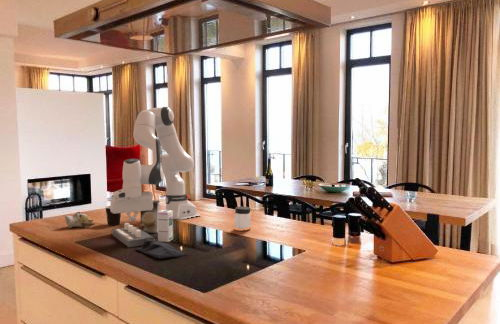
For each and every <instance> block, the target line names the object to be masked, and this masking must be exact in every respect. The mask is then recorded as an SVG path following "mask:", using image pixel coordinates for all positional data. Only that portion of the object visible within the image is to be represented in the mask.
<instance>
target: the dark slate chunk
mask: <svg viewBox="0 0 500 324" xmlns="http://www.w3.org/2000/svg"><path fill="white" fill-rule="evenodd" d="M135 250H136V251H137V252H140V253H142V254H145V255H148V256H151V257H153V258H155V259H160V260H162V259H168V258H179V257H184V256H186V254H185V253H184V252H182V251H179V250H178V249H177V248H175V246H173V245H171V244H169V243H168V242H162V241H158V240H156V239H154V240H151V239H145V240H144V244H143V245H142V246H141V247H140V246H139V247H137V248H136V249H135Z"/></svg>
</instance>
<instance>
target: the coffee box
mask: <svg viewBox="0 0 500 324" xmlns="http://www.w3.org/2000/svg"><path fill="white" fill-rule="evenodd" d="M152 201H153V209H152V210H146V211H140V219H139V220H140V221H139V222H140V224H139V225H140V228H139V229H141V230H143V231H144V232H146V233H154V234H155V233H157V234H158V213H157V212H159V211H160V202H161V201H160V200H156V199H155V200H153V199H152Z"/></svg>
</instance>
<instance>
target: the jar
mask: <svg viewBox="0 0 500 324" xmlns="http://www.w3.org/2000/svg"><path fill="white" fill-rule="evenodd" d="M251 219H252V212H251V208H250V207H249V206H236V207H235V210H234V218H233V220H234V222H233V223H234V224H233V225H234V227H235V228H239V229H244V228H249V227H250V226H251V227H252V223H251V221H252V220H251Z"/></svg>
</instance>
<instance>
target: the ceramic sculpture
mask: <svg viewBox="0 0 500 324" xmlns="http://www.w3.org/2000/svg"><path fill="white" fill-rule="evenodd" d="M64 218H65V223H66V225H67V227H68V229H72V228H73V227H76V228H84V227H85V228H86V227H93V226H94V225H96V223H93V221H94V219H89V217H88V215H87V214H85V213H81V212H80V211H77V212H75V213H74V214H73V215H68V214H65V215H64Z"/></svg>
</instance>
